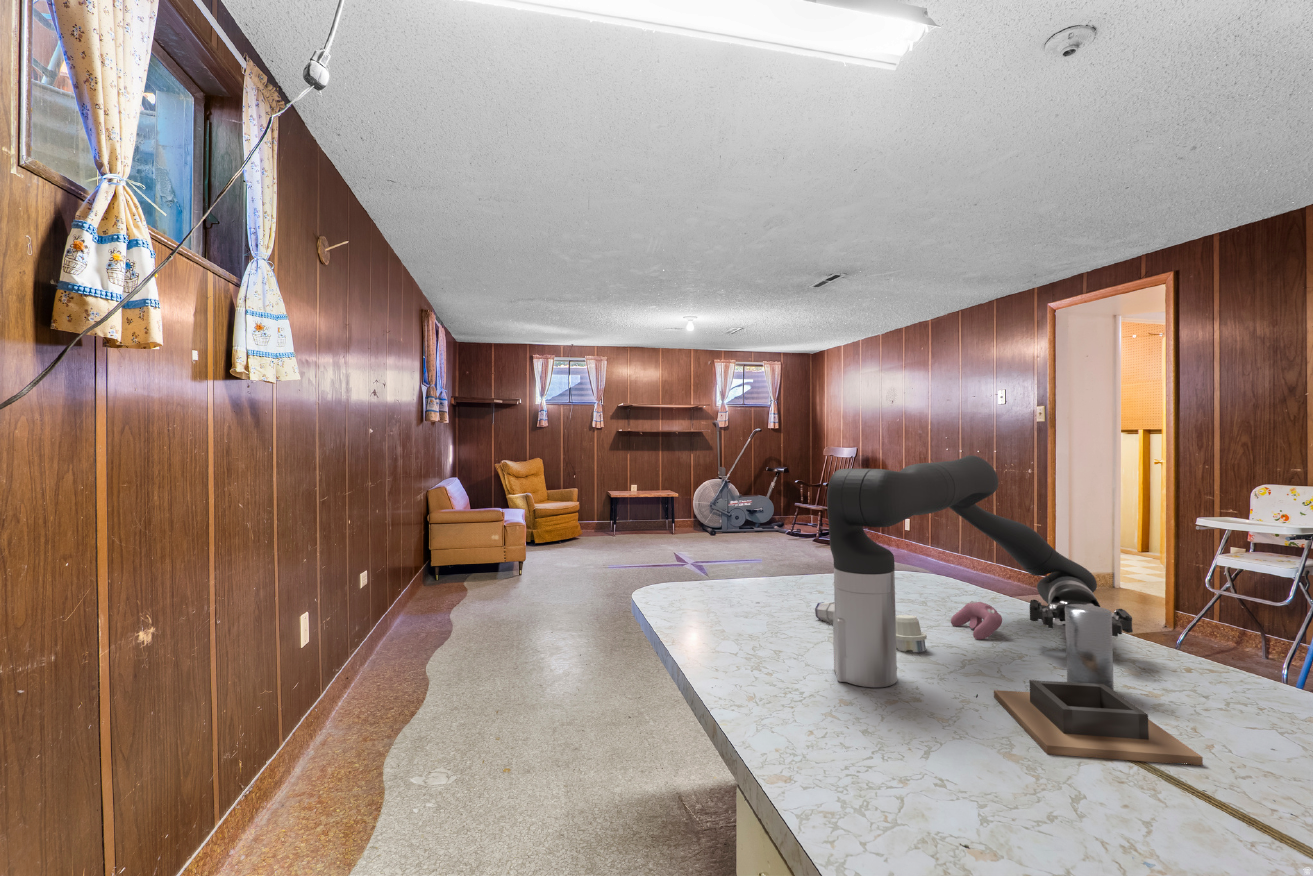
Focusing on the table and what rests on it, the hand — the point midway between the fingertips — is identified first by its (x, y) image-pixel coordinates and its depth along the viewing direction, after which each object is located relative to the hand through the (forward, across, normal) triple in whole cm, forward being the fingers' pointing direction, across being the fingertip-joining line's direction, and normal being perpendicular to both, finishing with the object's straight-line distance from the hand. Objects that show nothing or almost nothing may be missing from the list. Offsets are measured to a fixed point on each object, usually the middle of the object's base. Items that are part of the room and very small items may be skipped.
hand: (1082, 626), depth 94 cm
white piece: (-1, -34, +8) cm, 35 cm away
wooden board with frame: (+24, -2, +7) cm, 25 cm away
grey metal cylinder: (+9, 0, +7) cm, 12 cm away
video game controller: (-13, -16, +7) cm, 22 cm away
